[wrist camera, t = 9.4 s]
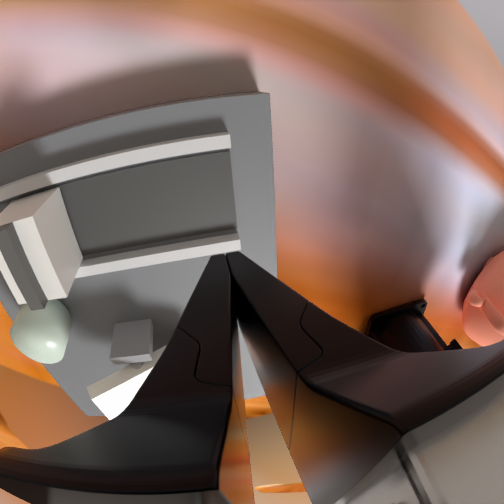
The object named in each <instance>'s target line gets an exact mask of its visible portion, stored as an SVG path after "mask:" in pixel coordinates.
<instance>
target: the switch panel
mask: <svg viewBox="0 0 504 504" xmlns="http://www.w3.org/2000/svg"><path fill="white" fill-rule="evenodd" d="M57 187H59V188H60V191H61V195H62V198H63V201H64V205H65V208H66V211H67V214H68V217H69V220H70V223H71V226H72V229H73V232H74V234H75V237H76V240H77V243H78V245H79V248H80V251H81V253H82V256H83V259H82V262H81V264H80V266H79V269H78V271H77V274H76V276H75V279H74V281H73V284H72V286H71V289H70V291H69V294H68V297H66V298H59V299H57V300H58V301H60V302H61V303H62V304H63V305H64V306H65V307H66V308H67V310H68V311H69V313H70V315H71V318H72V327H71V331H70V334H69V338H68V342H67V345H66V349H65V353H64V356H63V358H62V360H61V361H59V362H57V363H53V364H46V363H42V364H43V365H44V367H45V368H46V369H47V370H48V372H49V373H50V374H51V375H52V377H53V378H54V379H55V380H56V382H57V383H58V384H59V385H60V386H61V388H62V389H63V390H64V391H65V392H66V393H67V394H68V395H69V397H70V398H71V399H72V400H73V401H74V402H75V403H76V405H77V406H78V407H79V408H80V409H81V410H82V411H83V412H84V413H85V414H86V415H87V416H106V415H105V414H104V413H103V412H102V411H101V410H100V409H99V408H98V406H97V405H96V404H95V403H94V402H93V401H92V399H91V397H90V394H89V392H88V390H87V387H88V386H90V385H92V384H94V383H96V382H98V381H100V380H101V379H103V378H105V377H107V376H109V375H111V374H113V373H115V372H117V371H119V370H121V369H123V368H125V367H126V366H128V365H130V363H137V362H145V361H153V352H154V351H156V350H158V349H160V348H162V347H164V346H165V345H167V344H168V342H169V340H170V338H171V336H172V334H173V332H174V329H175V328H176V327H177V324H178V321H179V319H180V317H181V315H182V313H183V311H184V309H185V307H186V305H187V303H188V301H189V299H190V297H191V295H192V293H193V291H194V289H195V287H196V285H197V283H198V281H199V279H200V277H201V275H202V273H203V271H204V269H205V267H206V265H207V263H208V261H209V259H210V257H211V256H212V255H218V254H225V255H226V253H230V252H235V251H239V252H241V253H242V254H244V255H245V256H247V257H248V258H249V259H251V260H252V261H254V262H255V263H256V264H258V265H259V266H261V267H262V268H263V269H265V270H266V271H268V272H269V273H270V274H272V275H273V276H275V277H276V278H277V256H276V222H275V194H274V170H273V148H272V128H271V109H270V94H269V93H264V92H248V93H236V94H226V95H217V96H209V97H201V98H194V99H187V100H180V101H174V102H169V103H163V104H158V105H152V106H147V107H142V108H138V109H133V110H129V111H124V112H120V113H116V114H112V115H108V116H104V117H100V118H96V119H93V120H89V121H86V122H82V123H79V124H76V125H72V126H69V127H66V128H63V129H60V130H57V131H54V132H51V133H48V134H45V135H42V136H39V137H37V138H34V139H31V140H28V141H26V142H23V143H21V144H18V145H16V146H13V147H11V148H8V149H6V150H4V151H1V152H0V213H1V212H2V211H3V210H4V209H5V208H6V207H7V206H8V205H9V204H10V203H11V202H12V201H14V200H17V199H20V198H23V197H27V196H30V195H33V194H36V193H40V192H43V191H46V190H50V189H53V188H57ZM0 301H1V303H2V305H3V306H4V308H5V310H6V311H7V313H8V315H9V316H10V318H11V319H12V321H13V323H14V320H15V318H16V316H17V314H18V312H19V310H20V307H21V305H22V304H18V303H17V301H16V299H15V297H14V295H13V294H12V292H11V290H10V288H9V286H8V284H7V282H6V281H5V279H4V277H3V275H2V273H1V271H0ZM237 322H238V320H237ZM238 330H239V342H240V354H241V366H242V378H243V389H244V400H245V399H250V398H255V397H260V396H265V395H266V394H265V392H264V389H263V387H262V384H261V382H260V379H259V377H258V374H257V372H256V369H255V367H254V364H253V362H252V359H251V356H250V354H249V351H248V349H247V346H246V343H245V341H244V338H243V335H242V333H241V330H240V327H239V324H238Z"/></svg>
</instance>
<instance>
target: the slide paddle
mask: <svg viewBox="0 0 504 504" xmlns="http://www.w3.org/2000/svg"><path fill="white" fill-rule="evenodd" d="M82 259H83V256H82V253H81V251H80V248H79V245H78V243H77V240H76V237H75V234H74V232H73V229H72V226H71V223H70V220H69V217H68V214H67V211H66V208H65V205H64V201H63V198H62V195H61V191H60V188H59V187H57V188H53V189H50V190H46V191H43V192H40V193H36V194H33V195H30V196H27V197H23V198H20V199H17V200H14V201H12V202H11V203H10V204H9V205H8V206H7V207H6V208H5V209H4V210H3V211H2V212H1V213H0V271H1V273H2V275H3V277H4V279H5V281H6V282H7V284H8V286H9V288H10V290H11V292H12V294H13V295H14V297H15V299H16V301H17V303H18V304H26V303H27V304H28V306H29V308H30V309H31V311H33V310H41V309H45V306H46V304H47V302H48V300H53V299H59V298H66V297H68V294H69V291H70V289H71V286H72V284H73V281H74V279H75V276H76V274H77V271H78V269H79V266H80V264H81V262H82Z"/></svg>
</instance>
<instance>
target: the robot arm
mask: <svg viewBox="0 0 504 504" xmlns="http://www.w3.org/2000/svg"><path fill="white" fill-rule="evenodd" d="M426 306H427V302H426V301H425V299H422V300H419V301H416V302H413V303H410V304H407V305H403V306H400V307H397V308H394V309H391V310H387V311H384V312H381V313H377V314H374V315H373V316H371V318H370V319H369V323H368V327H367V330H366V334H365V335H364V334H362V333H360V332H359V331H357V330H355V329H353V328H351V327H349V326H348V325H346V324H344V323H342V322H341V321H339V320H337V319H335V318H334V317H332V316H331V315H329V314H328V313H326V312H325V311H323V310H321V309H320V308H318V307H317V306H316V305H314V304H313V303H311V302H309V301H308V300H307V299H306V298H304V297H303V296H301V295H300V294H299V293H297V292H296V291H294V290H293V289H292V288H290V287H289V286H287V285H286V284H284V283H283V282H282V281H280V280H279V279H277V278H276V277H275V276H273V275H272V274H270V273H269V272H268V271H266V270H265V269H263V268H262V267H261V266H259V265H258V264H256V263H255V262H254V261H252V260H251V259H249V258H248V257H247V256H245V255H244V254H242V253H241V252H239V251H235V252H230V253H226V255H225V254H218V255H212V256H211V257H210V259H209V261H208V263H207V265H206V267H205V269H204V271H203V273H202V275H201V277H200V279H199V281H198V283H197V285H196V287H195V289H194V291H193V293H192V295H191V297H190V299H189V301H188V303H187V305H186V307H185V309H184V311H183V313H182V315H181V317H180V319H179V321H178V324H177V327H176V328H175V329H174V332H173V334H172V336H171V338H170V340H169V342H168V344H167V345H166V347H165V349H164V351H163V353H162V354H161V356H160V358H159V359H158V361H157V362H156V364H155V366H154V367H153V369H152V370H151V372H150V373H149V375H148V376H147V378H146V379H145V381H144V382H143V384H142V385H141V387H140V389H139V390H138V392H137V393H136V395H135V396H134V398H133V399H132V401H131V402H130V403H129V405H128V406H127V407H126V408H125V409H124V411H122V412H121V413H120V414H119V415H118V416H116V417H115V418H113V419H111V420H109V421H107V422H105V423H103V424H101V425H99V426H97V427H94V428H92V429H90V430H88V431H86V432H84V433H81V434H79V435H77V436H74V437H72V438H70V439H68V440H65V441H63V442H61V443H58V444H55V445H53V446H50V447H45V448H41V449H22V448H16V447H4V448H1V449H0V488H1V489H3V490H5V491H7V492H9V493H10V494H12V495H14V496H16V497H18V498H20V499H22V500H24V501H27V502H29V503H31V504H255V502H254V493H253V484H252V473H251V464H250V453H249V444H248V433H247V423H246V412H245V401H244V389H243V378H242V366H241V354H240V342H239V330H238V324H239V327H240V330H241V333H242V335H243V338H244V341H245V343H246V346H247V349H248V351H249V354H250V356H251V359H252V362H253V364H254V367H255V369H256V372H257V374H258V377H259V379H260V382H261V384H262V387H263V389H264V392H265V394H266V397H267V399H268V402H269V404H270V407H271V409H272V412H273V414H274V416H275V419H276V421H277V424H278V426H279V429H280V431H281V433H282V436H283V438H284V440H285V443H286V445H287V448H288V449H289V451H290V455H291V457H292V459H293V462H294V464H295V466H296V469H297V470H298V473H299V475H300V478H301V480H302V482H303V484H304V487H305V489H306V491H307V493H308V495H309V498H310V500H311V502H312V504H504V339H503V340H502V341H500V342H498V343H495V344H492V345H488V346H484V347H478V348H470V349H462V347H461V346H460V345H459V344H458V342H457V341H456V340H455V339H453V340H452V341H451V342H450V344H449V345H448V346H447V345H446V344H445V342H444V341H443V340H442V338H441V337H440V336H439V334H438V333H437V332H436V331H435V329H434V328H433V327H432V325H431V324H430V323H429V322H428V320H427V319H426V318H425V317H424V315H423V314H424V311H425V309H426ZM237 320H238V322H237Z"/></svg>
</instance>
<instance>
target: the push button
mask: <svg viewBox="0 0 504 504" xmlns="http://www.w3.org/2000/svg"><path fill="white" fill-rule="evenodd" d="M71 327H72V318H71V315H70V313H69V311H68V310H67V308H66V307H65V306H64V305H63V304H62V303H61V302H60V301H58V300H57V299H53V300H48V302H47V304H46V306H45V309H41V310H33V311H31V309H30V308H29V306H28V304H27V303H26V304H22V305H21V307H20V310H19V312H18V314H17V316H16V318H15V320H14V323H13V325H12V327H11V330H10V335H11V339H12V341H13V343H14V344H15V346H16V347H17V348H18V349H19V350H20V351H21V352H22V353H23V354H24V355H26V356H27V357H29V358H31V359H33V360H35V361H37V362H41V363H46V364H53V363H57V362H59V361H61V360H62V358H63V356H64V353H65V349H66V345H67V342H68V338H69V334H70V331H71Z"/></svg>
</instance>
